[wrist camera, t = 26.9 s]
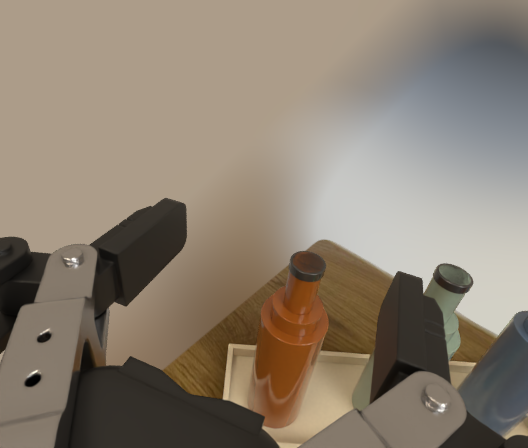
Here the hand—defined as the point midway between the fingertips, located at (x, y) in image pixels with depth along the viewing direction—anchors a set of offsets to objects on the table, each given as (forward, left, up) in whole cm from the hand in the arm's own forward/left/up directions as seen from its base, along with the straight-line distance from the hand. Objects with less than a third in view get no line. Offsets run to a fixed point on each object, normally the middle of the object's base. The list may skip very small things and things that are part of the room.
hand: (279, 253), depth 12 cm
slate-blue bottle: (+5, +29, -29) cm, 41 cm away
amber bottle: (-7, +8, -29) cm, 31 cm away
